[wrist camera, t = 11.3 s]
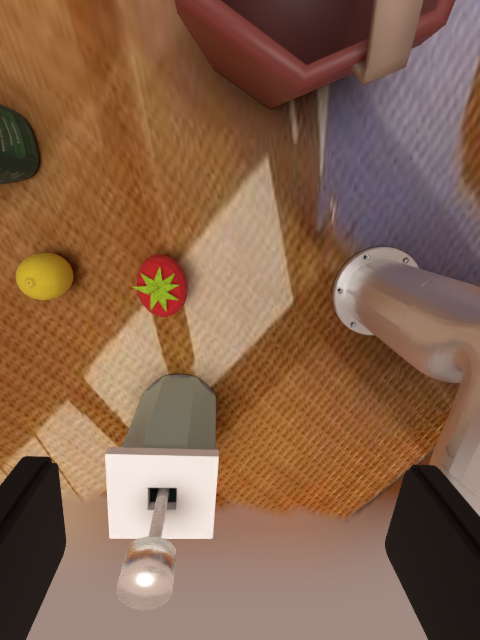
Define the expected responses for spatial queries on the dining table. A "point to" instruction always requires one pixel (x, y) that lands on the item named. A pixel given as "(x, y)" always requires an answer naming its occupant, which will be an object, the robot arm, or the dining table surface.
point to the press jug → (166, 462)
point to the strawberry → (161, 285)
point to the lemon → (44, 276)
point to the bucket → (308, 40)
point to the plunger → (149, 565)
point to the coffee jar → (16, 147)
